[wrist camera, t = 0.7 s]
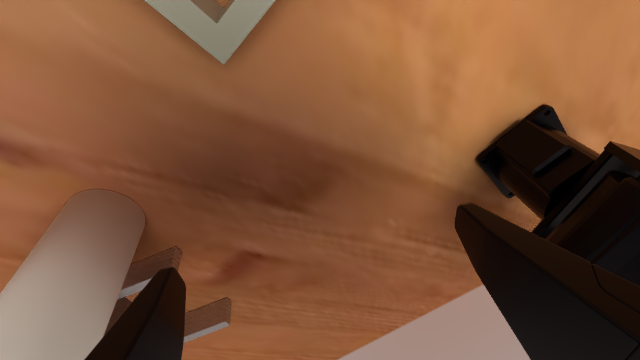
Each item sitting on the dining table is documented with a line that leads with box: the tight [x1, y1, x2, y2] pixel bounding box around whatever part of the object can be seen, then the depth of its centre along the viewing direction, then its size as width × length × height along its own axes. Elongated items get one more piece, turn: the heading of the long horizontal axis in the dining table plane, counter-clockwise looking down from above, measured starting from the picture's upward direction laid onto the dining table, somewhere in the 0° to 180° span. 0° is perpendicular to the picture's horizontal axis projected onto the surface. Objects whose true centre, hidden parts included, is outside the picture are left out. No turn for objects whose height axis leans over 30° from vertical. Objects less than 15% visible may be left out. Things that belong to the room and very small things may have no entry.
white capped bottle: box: [0, 189, 146, 360], centre depth 18 cm, size 5×5×13 cm
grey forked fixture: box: [104, 247, 231, 343], centre depth 27 cm, size 14×11×7 cm
